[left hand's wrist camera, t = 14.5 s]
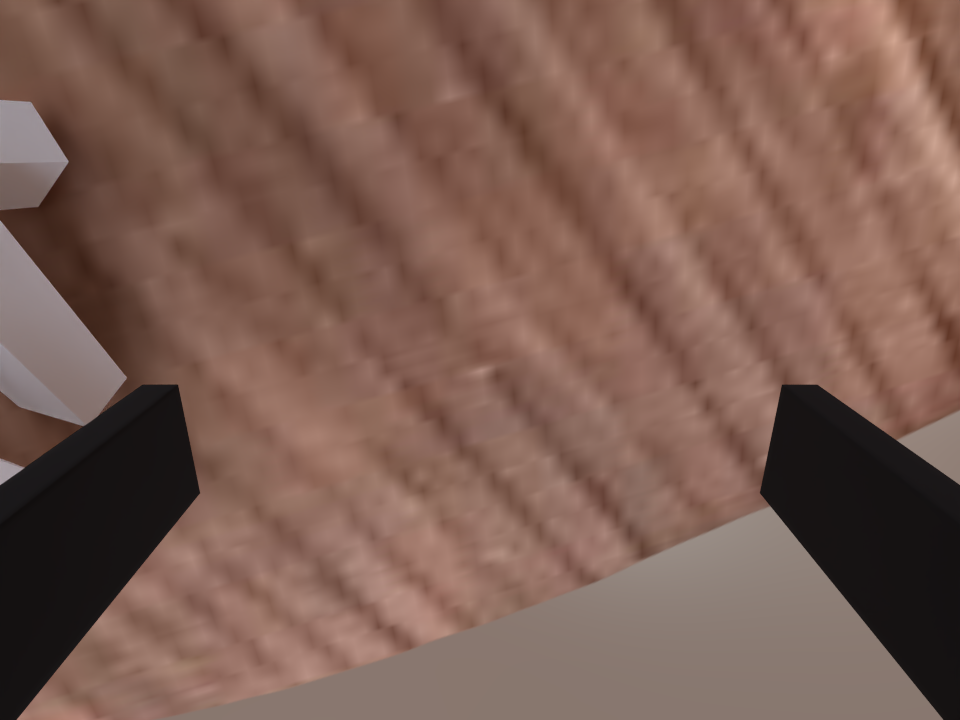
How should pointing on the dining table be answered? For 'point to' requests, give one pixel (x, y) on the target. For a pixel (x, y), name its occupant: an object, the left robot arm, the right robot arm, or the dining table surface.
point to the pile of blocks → (41, 295)
